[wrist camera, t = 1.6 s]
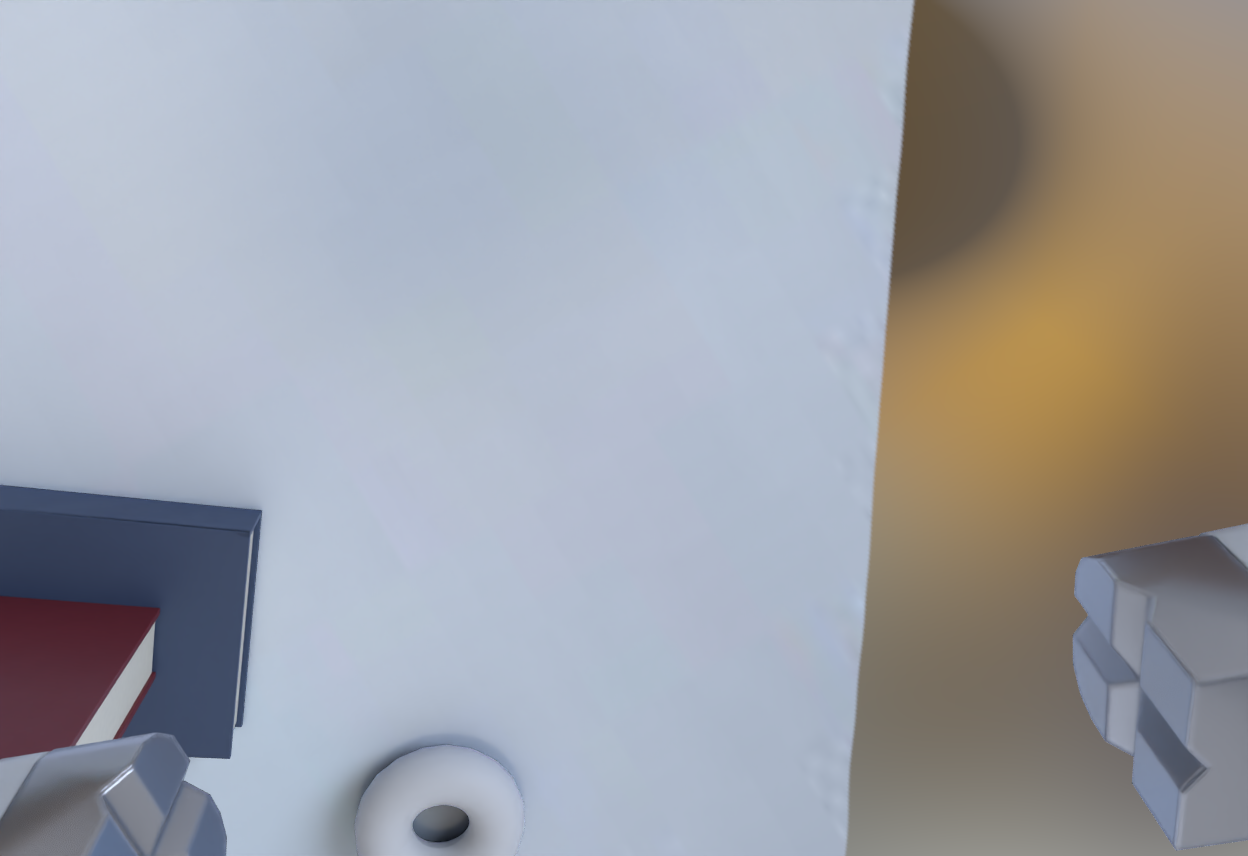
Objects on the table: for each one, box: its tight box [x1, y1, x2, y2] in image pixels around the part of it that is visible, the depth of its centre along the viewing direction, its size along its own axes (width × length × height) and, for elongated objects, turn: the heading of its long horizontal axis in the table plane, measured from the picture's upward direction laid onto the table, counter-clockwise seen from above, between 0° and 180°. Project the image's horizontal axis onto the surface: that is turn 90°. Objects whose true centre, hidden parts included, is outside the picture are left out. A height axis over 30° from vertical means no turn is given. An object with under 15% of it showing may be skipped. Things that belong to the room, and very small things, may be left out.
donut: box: [354, 745, 525, 856], centre depth 58 cm, size 10×4×10 cm
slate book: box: [0, 485, 262, 759], centre depth 51 cm, size 13×18×4 cm
